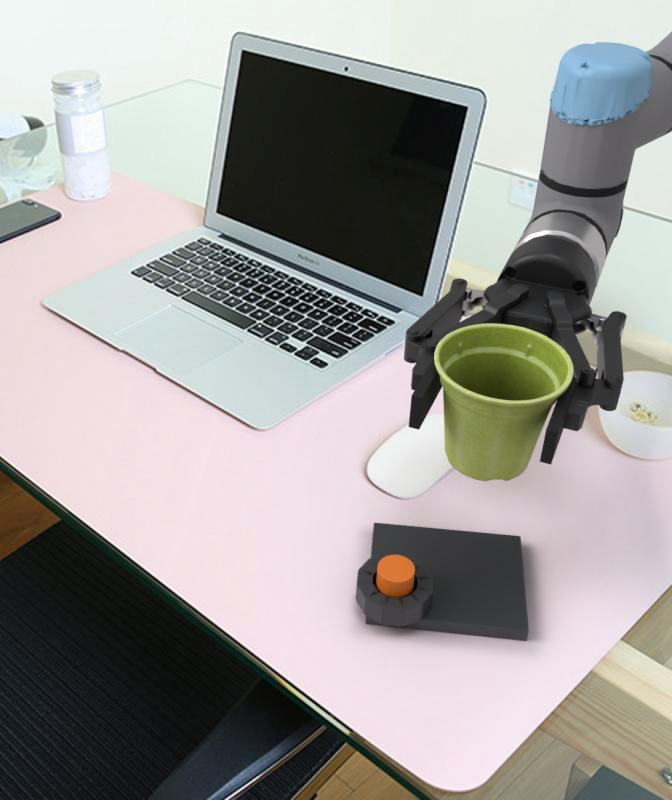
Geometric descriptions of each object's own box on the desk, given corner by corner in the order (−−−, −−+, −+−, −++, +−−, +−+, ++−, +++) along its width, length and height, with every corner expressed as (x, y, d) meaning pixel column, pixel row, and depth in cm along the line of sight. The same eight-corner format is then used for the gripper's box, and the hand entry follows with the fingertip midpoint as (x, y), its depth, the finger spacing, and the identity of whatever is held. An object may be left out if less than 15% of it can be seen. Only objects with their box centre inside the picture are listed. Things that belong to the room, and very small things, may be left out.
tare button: (413, 572, 73) (415, 556, 72) (412, 600, 71) (414, 583, 70) (377, 568, 73) (378, 552, 72) (375, 596, 71) (376, 580, 70)
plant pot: (574, 450, 71) (597, 354, 66) (513, 519, 65) (533, 419, 60) (464, 402, 76) (478, 309, 70) (398, 462, 70) (407, 365, 65)
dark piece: (518, 546, 79) (523, 519, 77) (527, 651, 70) (533, 624, 68) (363, 531, 80) (364, 505, 79) (352, 632, 72) (354, 605, 70)
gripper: (672, 340, 78) (632, 515, 62) (425, 288, 86) (331, 433, 69) (696, 259, 74) (659, 425, 58) (433, 212, 81) (334, 347, 65)
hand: (480, 429), depth 63 cm, fingers closed on plant pot, 8 cm apart
